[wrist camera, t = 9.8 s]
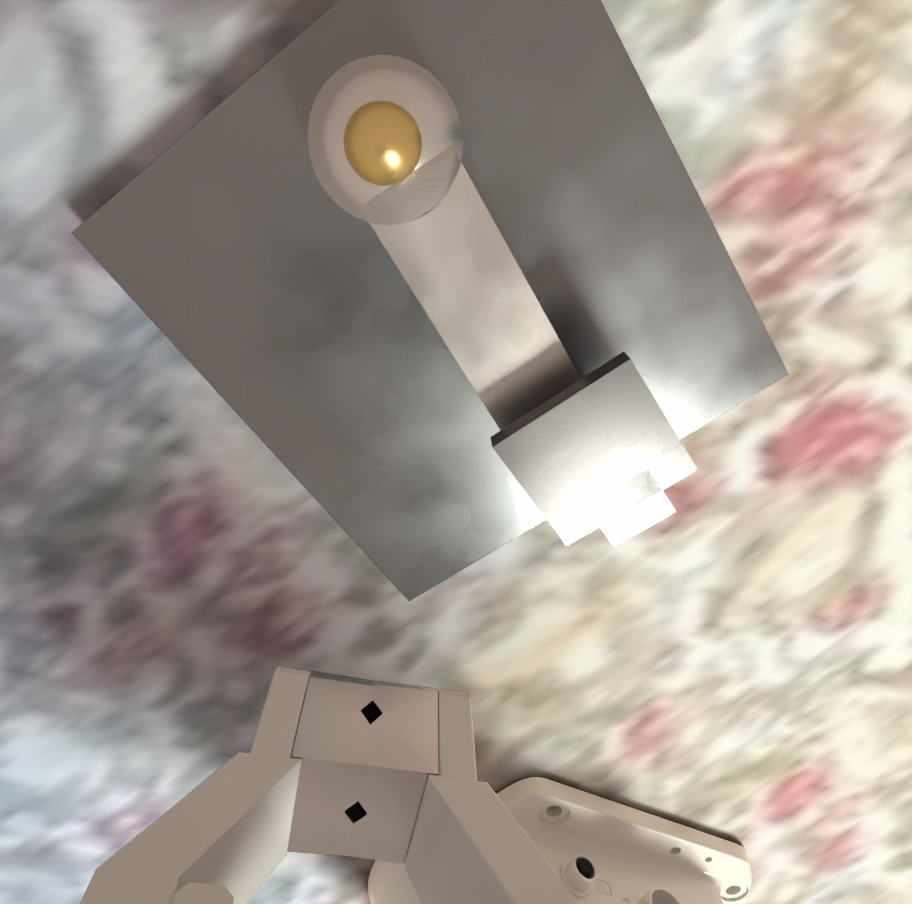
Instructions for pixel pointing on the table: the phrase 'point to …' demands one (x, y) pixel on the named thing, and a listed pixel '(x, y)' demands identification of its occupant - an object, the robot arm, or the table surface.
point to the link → (443, 238)
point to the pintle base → (400, 313)
